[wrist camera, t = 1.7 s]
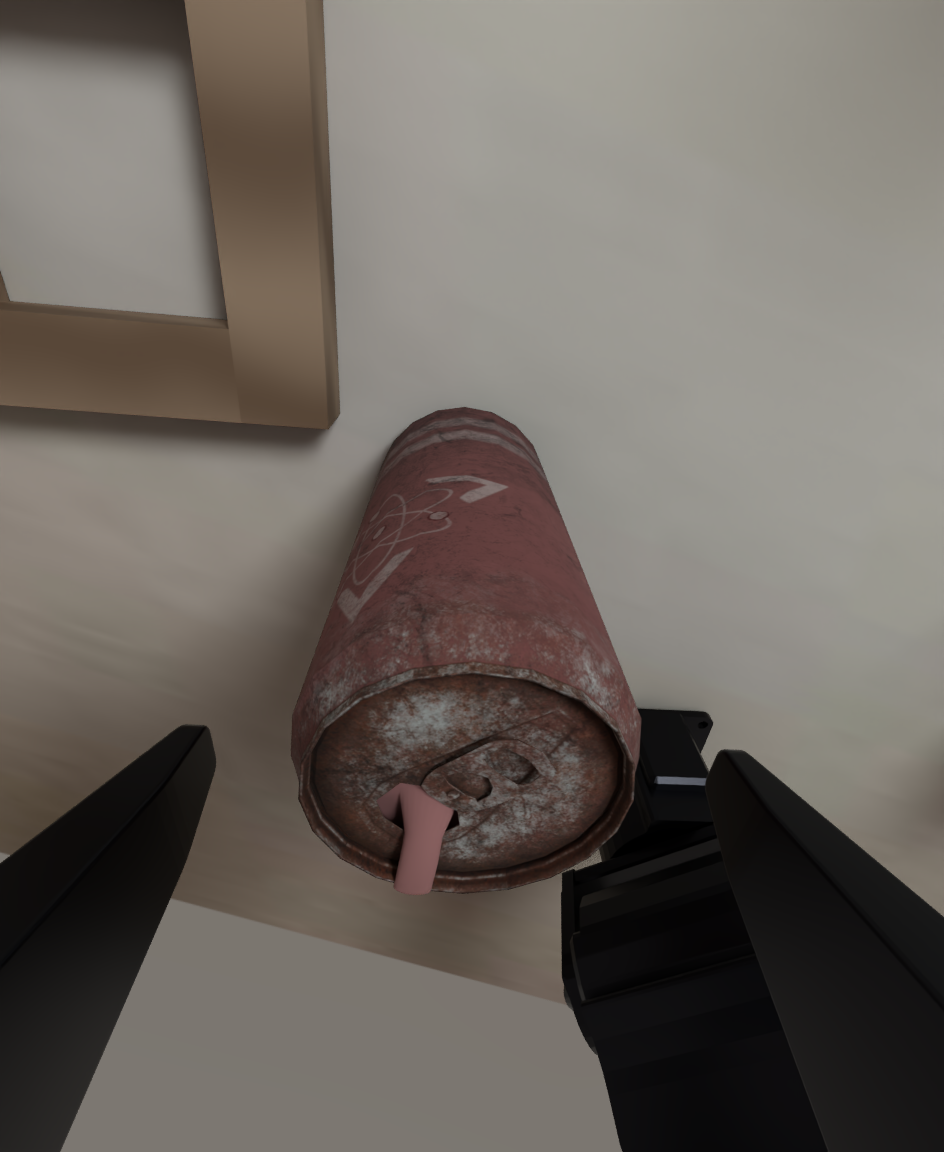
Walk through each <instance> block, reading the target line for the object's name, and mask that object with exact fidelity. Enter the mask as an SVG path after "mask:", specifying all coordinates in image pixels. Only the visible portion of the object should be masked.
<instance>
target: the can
mask: <svg viewBox="0 0 944 1152" xmlns="http://www.w3.org/2000/svg"><path fill="white" fill-rule="evenodd" d="M640 734H641V717H640V714H639V712H638V709H637V707H636V704H635V702H634V699H633V696H632V694H631V691H630V689H629V686H628V684H627V681H626V679H625V676H624V674H623V671H622V669H621V666H620V663H619V661H618V658H617V656H616V653H615V651H614V648H613V646H612V643H611V641H610V638H609V636H608V633H607V630H606V628H605V625H604V623H603V620H602V618H601V615H600V613H599V610H598V608H597V605H596V602H595V600H594V597H593V595H592V592H591V590H590V587H589V585H588V582H587V580H586V577H585V575H584V572H583V569H582V567H581V564H580V562H579V559H578V557H577V554H576V552H575V549H574V547H573V544H572V542H571V539H570V536H569V534H568V531H567V529H566V526H565V524H564V521H563V519H562V516H561V514H560V511H559V508H558V506H557V503H556V501H555V498H554V496H553V493H552V491H551V488H550V486H549V483H548V481H547V478H546V475H545V473H544V470H543V468H542V465H541V463H540V461H539V458H538V456H537V453H536V451H535V449H534V446H533V445H532V443H531V442H530V441H529V440H528V439H527V438H526V437H525V436H524V434H523V433H522V432H521V431H520V430H519V429H518V428H517V427H516V426H515V425H514V424H512V423H510V422H508V421H506V420H505V419H503V418H501V417H499V416H498V415H496V414H494V413H492V412H488V411H482V410H477V409H472V408H467V407H462V408H454V409H446V410H438V411H435V412H433V413H431V414H429V415H427V416H425V417H423V418H421V419H419V420H417V421H415V422H413V423H412V424H411V425H410V426H409V427H408V428H407V429H406V430H405V431H404V432H403V433H402V434H401V435H400V436H399V437H398V438H396V439H395V440H394V442H393V444H392V446H391V448H390V450H389V452H388V454H387V456H386V458H385V460H384V462H383V464H382V467H381V470H380V473H379V475H378V478H377V481H376V484H375V487H374V489H373V492H372V495H371V498H370V501H369V503H368V506H367V509H366V512H365V514H364V517H363V520H362V523H361V526H360V528H359V531H358V534H357V537H356V540H355V542H354V545H353V548H352V551H351V553H350V556H349V559H348V562H347V565H346V567H345V570H344V573H343V576H342V579H341V581H340V584H339V587H338V590H337V592H336V595H335V598H334V601H333V604H332V606H331V609H330V612H329V615H328V618H327V620H326V623H325V626H324V629H323V631H322V634H321V637H320V640H319V643H318V645H317V648H316V651H315V654H314V657H313V659H312V662H311V665H310V668H309V670H308V673H307V676H306V679H305V682H304V684H303V687H302V690H301V693H300V696H299V698H298V701H297V704H296V707H295V710H294V712H293V715H292V739H291V757H292V760H293V763H294V766H295V769H296V773H297V776H298V779H299V797H298V799H299V802H300V804H301V806H302V808H303V811H304V813H305V815H306V817H307V820H308V822H309V824H310V826H311V829H312V831H313V832H314V833H315V834H316V835H317V836H318V837H319V838H320V839H321V840H322V841H323V842H324V843H325V844H326V845H327V846H328V847H329V848H330V849H331V850H332V851H333V852H334V853H335V854H336V855H337V856H338V857H339V858H340V859H342V860H344V861H346V862H348V863H350V864H351V865H353V866H355V867H357V868H359V869H361V870H363V871H364V872H366V873H368V874H370V875H372V876H374V877H376V878H378V879H382V880H386V881H389V882H393V883H394V889H396V890H397V891H399V892H401V893H405V894H410V895H422V894H427V893H429V892H430V891H439V892H450V893H462V894H465V893H476V892H487V891H498V890H509V889H512V888H516V887H519V886H523V885H526V884H530V883H534V882H537V881H541V880H544V879H548V878H551V877H553V876H555V875H557V874H559V873H561V872H563V871H565V870H567V869H568V868H570V867H572V866H574V865H576V864H578V863H580V862H582V861H584V860H586V859H588V858H589V857H590V856H591V855H592V854H593V853H594V852H596V851H597V850H598V849H599V848H600V847H601V846H602V845H603V844H604V843H605V842H607V841H608V840H609V839H610V838H611V837H612V836H613V835H614V834H615V833H616V832H617V831H618V829H619V827H620V825H621V823H622V821H623V820H624V818H625V816H626V814H627V812H628V810H629V808H630V806H631V805H632V803H633V801H634V783H635V771H636V767H637V764H638V760H639V753H640Z"/></svg>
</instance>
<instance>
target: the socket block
mask: <svg viewBox="0 0 944 1152" xmlns="http://www.w3.org/2000/svg"><path fill="white" fill-rule="evenodd" d="M184 1H185V8H186V16H187V23H188V31H189V38H190V46H191V53H192V60H193V68H194V75H195V83H196V90H197V97H198V105H199V112H200V120H201V127H202V135H203V142H204V149H205V157H206V164H207V172H208V179H209V187H210V194H211V201H212V209H213V216H214V224H215V231H216V238H217V246H218V253H219V261H220V268H221V276H222V283H223V290H224V298H225V305H226V313H227V320H223V319H211V318H200V317H188V316H176V315H165V314H153V313H141V312H130V311H118V310H106V309H95V308H83V307H71V306H60V305H48V304H36V303H25V302H13V301H9V298H8V294H7V291H6V288H5V285H4V282H3V279H2V275H1V272H0V405H7V406H21V407H34V408H48V409H61V410H74V411H88V412H101V413H115V414H128V415H141V416H155V417H168V418H182V419H195V420H208V421H222V422H235V423H249V424H262V425H275V426H289V427H302V428H316V429H329V428H330V427H331V425H332V424H333V423H334V421H335V420H336V419H337V417H338V416H339V414H340V401H339V377H338V353H337V329H336V305H335V281H334V257H333V233H332V209H331V185H330V161H329V137H328V113H327V89H326V65H325V41H324V17H323V0H184Z"/></svg>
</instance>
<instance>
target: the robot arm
mask: <svg viewBox="0 0 944 1152" xmlns="http://www.w3.org/2000/svg"><path fill="white" fill-rule="evenodd" d="M638 712H639V714H640V717H641V734H640V753H639V760H638V764H637V767H636V771H635V783H634V801H633V803H632V805H631V806H630V808H629V810H628V812H627V814H626V816H625V818H624V820H623V821H622V823H621V825H620V827H619V829H618V831H617V832H616V833H615V834H614V835H613V836H612V837H611V838H610V839H609V840H608V841H607V842H605V843H604V844H603V845H602V846H601V847H600V848H599V851H600V855H601V859H602V862H600V863H597V864H594V865H591V866H588V867H585V868H582V869H579V870H576V871H575V870H574V869H572V870H569V871H566V872H564V873H562V892H561V933H562V979H563V983H564V997H565V1001H566V1003H567V1005H568V1007H569V1008H571V1009H572V1010H573V1011H574V1014H575V1017H576V1019H577V1022H578V1025H579V1027H580V1030H581V1032H582V1034H583V1036H584V1038H585V1040H586V1042H587V1043H588V1045H589V1047H590V1048H591V1049H592V1051H593V1052H594V1053H595V1054H596V1055H598V1058H599V1061H600V1064H601V1067H602V1071H603V1074H604V1078H605V1082H606V1086H607V1090H608V1094H609V1098H610V1103H611V1107H612V1112H613V1116H614V1120H615V1125H616V1129H617V1134H618V1138H619V1142H620V1146H621V1149H622V1151H623V1152H944V917H943V916H942V915H941V914H940V913H938V912H937V911H936V910H935V909H934V908H932V907H931V906H930V905H929V904H928V903H926V902H925V901H924V900H923V899H922V898H921V897H919V896H918V895H917V894H916V893H915V892H913V891H912V890H911V889H910V888H909V887H907V886H906V885H905V884H904V883H903V882H901V881H900V880H899V879H898V878H897V877H895V876H894V875H893V874H892V873H891V872H889V871H888V870H887V869H886V868H885V867H883V866H882V865H881V864H880V863H879V862H877V861H876V860H875V859H874V858H873V857H871V856H870V855H869V854H868V853H867V852H865V851H864V850H863V849H862V848H861V847H859V846H858V845H857V844H856V843H855V842H853V841H852V840H851V839H850V838H849V837H848V836H846V835H845V834H844V833H843V832H842V831H840V830H839V829H838V828H837V827H836V826H834V825H833V824H832V823H831V822H830V821H828V820H827V819H826V818H825V817H824V816H822V815H821V814H820V813H819V812H818V811H816V810H815V809H814V808H813V807H812V806H810V805H809V804H808V803H807V802H806V801H804V800H803V799H802V798H801V797H800V796H798V795H797V794H796V793H795V792H794V791H792V790H791V789H790V788H789V787H788V786H786V785H785V784H784V783H783V782H782V781H780V780H779V779H778V778H777V777H776V776H775V775H773V774H772V773H771V772H770V771H769V770H767V769H766V768H765V767H764V766H763V765H761V764H760V763H759V762H758V761H757V760H755V759H754V758H753V757H752V756H751V755H749V754H748V753H747V752H745V751H742V750H728V749H724V750H721V751H720V752H718V754H717V756H716V758H715V760H714V762H713V765H712V767H711V769H710V771H709V770H708V768H707V766H706V764H705V762H704V760H703V758H702V756H701V751H702V749H703V747H704V744H705V742H706V740H707V737H708V735H709V733H710V730H711V728H712V726H713V721H712V719H711V717H710V716H709V714H708V713H706V712H698V711H675V710H653V709H638ZM702 721H703V722H702ZM215 768H216V756H215V751H214V747H213V742H212V738H211V733H210V730H209V728H208V727H207V726H204V725H188V724H186V725H182V726H180V727H178V728H176V729H175V730H174V731H173V732H171V733H170V734H169V735H167V736H166V737H165V738H163V739H162V740H161V741H159V742H158V743H157V744H156V745H154V746H153V747H152V748H150V749H149V750H148V751H146V752H145V753H144V754H142V755H141V756H140V757H139V758H137V759H136V760H135V761H133V762H132V763H131V764H129V765H128V766H127V767H125V768H124V769H123V770H122V771H120V772H119V773H118V774H116V775H115V776H114V777H112V778H111V779H110V780H108V781H107V782H106V783H105V784H103V785H102V786H101V787H99V788H98V789H97V790H95V791H94V792H93V793H91V794H90V795H89V796H88V797H86V798H85V799H84V800H82V801H81V802H80V803H78V804H77V805H76V806H74V807H73V808H72V809H71V810H69V811H68V812H67V813H65V814H64V815H63V816H61V817H60V818H59V819H57V820H56V821H55V822H54V823H52V824H51V825H50V826H48V827H47V828H46V829H44V830H43V831H42V832H40V833H39V834H38V835H37V836H35V837H34V838H33V839H31V840H30V841H29V842H27V843H26V844H25V845H23V846H22V847H21V848H20V849H18V850H17V851H16V852H14V853H13V854H12V855H10V856H9V857H8V858H7V859H5V860H4V861H3V862H1V863H0V1152H60V1151H61V1149H62V1147H63V1144H64V1142H65V1140H66V1137H67V1135H68V1133H69V1131H70V1128H71V1126H72V1124H73V1121H74V1119H75V1117H76V1114H77V1112H78V1110H79V1108H80V1105H81V1103H82V1100H83V1098H84V1096H85V1094H86V1091H87V1089H88V1087H89V1084H90V1082H91V1080H92V1078H93V1075H94V1073H95V1070H96V1068H97V1066H98V1064H99V1061H100V1059H101V1057H102V1055H103V1052H104V1050H105V1048H106V1045H107V1043H108V1041H109V1039H110V1036H111V1034H112V1032H113V1029H114V1027H115V1025H116V1022H117V1020H118V1018H119V1015H120V1013H121V1011H122V1008H123V1006H124V1004H125V1002H126V999H127V997H128V995H129V992H130V990H131V988H132V985H133V983H134V981H135V978H136V976H137V974H138V972H139V969H140V967H141V965H142V963H143V960H144V958H145V956H146V953H147V951H148V949H149V946H150V944H151V942H152V940H153V937H154V935H155V933H156V930H157V928H158V925H159V923H160V921H161V919H162V917H163V914H164V912H165V910H166V907H167V905H168V903H169V900H170V898H171V896H172V894H173V891H174V889H175V887H176V884H177V882H178V880H179V877H180V875H181V873H182V870H183V868H184V865H185V863H186V860H187V857H188V854H189V851H190V849H191V846H192V842H193V839H194V836H195V833H196V830H197V827H198V823H199V820H200V817H201V814H202V811H203V807H204V804H205V801H206V798H207V795H208V792H209V788H210V785H211V782H212V779H213V776H214V772H215Z"/></svg>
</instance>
